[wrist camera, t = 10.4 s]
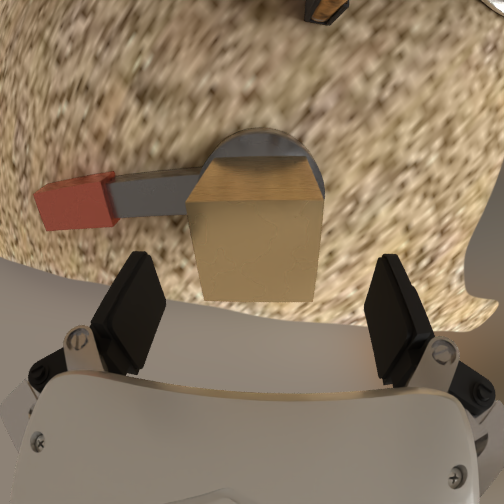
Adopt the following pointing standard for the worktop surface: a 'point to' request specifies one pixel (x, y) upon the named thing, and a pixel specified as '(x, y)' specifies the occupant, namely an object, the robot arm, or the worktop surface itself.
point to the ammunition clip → (324, 10)
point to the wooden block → (256, 229)
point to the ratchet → (152, 185)
